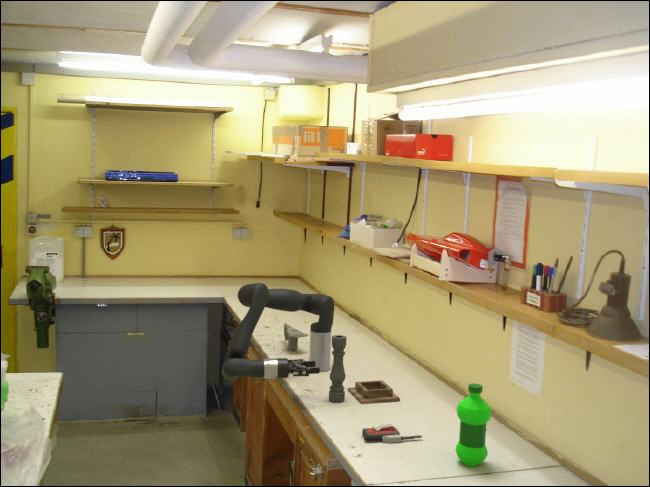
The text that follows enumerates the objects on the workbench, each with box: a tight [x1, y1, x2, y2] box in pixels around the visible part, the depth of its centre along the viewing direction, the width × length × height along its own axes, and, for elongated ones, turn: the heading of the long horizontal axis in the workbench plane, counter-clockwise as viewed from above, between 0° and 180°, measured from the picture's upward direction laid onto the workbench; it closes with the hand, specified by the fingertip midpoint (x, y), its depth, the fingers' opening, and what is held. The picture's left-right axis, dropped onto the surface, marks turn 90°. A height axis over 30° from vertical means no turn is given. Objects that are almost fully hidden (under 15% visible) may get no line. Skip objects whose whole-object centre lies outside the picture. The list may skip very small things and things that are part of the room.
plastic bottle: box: [455, 383, 492, 467], centre depth 228 cm, size 10×10×25 cm
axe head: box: [283, 322, 309, 352], centre depth 355 cm, size 27×10×10 cm, turn 20°
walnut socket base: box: [347, 379, 401, 405], centre depth 290 cm, size 16×16×4 cm
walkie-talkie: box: [361, 423, 423, 444], centre depth 247 cm, size 9×4×20 cm
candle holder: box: [328, 334, 347, 404], centre depth 282 cm, size 6×6×25 cm
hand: (317, 367), depth 280 cm, fingers open, 8 cm apart
